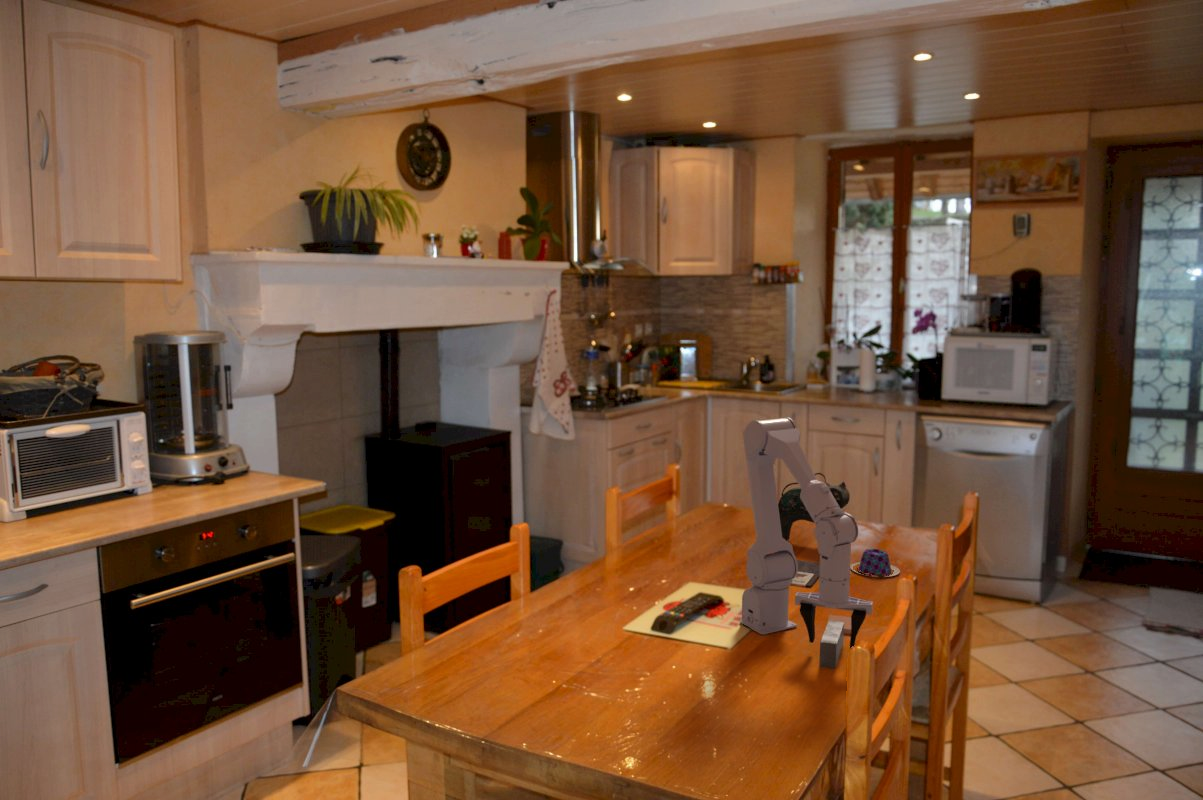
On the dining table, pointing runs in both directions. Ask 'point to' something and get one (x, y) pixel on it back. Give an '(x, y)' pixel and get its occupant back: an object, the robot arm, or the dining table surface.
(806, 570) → the chocolate bar
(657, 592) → the dining table surface
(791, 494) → the ceramic cat
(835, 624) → the tall grey plank
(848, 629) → the tile
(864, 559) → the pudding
